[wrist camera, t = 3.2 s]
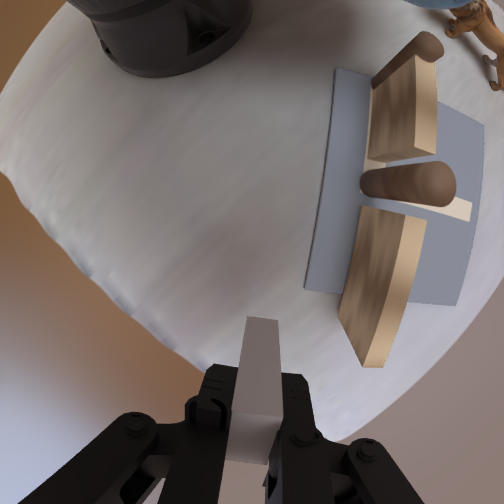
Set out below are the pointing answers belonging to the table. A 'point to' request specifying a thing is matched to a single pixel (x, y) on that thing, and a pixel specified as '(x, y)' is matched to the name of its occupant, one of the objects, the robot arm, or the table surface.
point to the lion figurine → (481, 33)
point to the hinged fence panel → (380, 281)
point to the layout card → (352, 198)
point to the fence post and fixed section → (408, 128)
